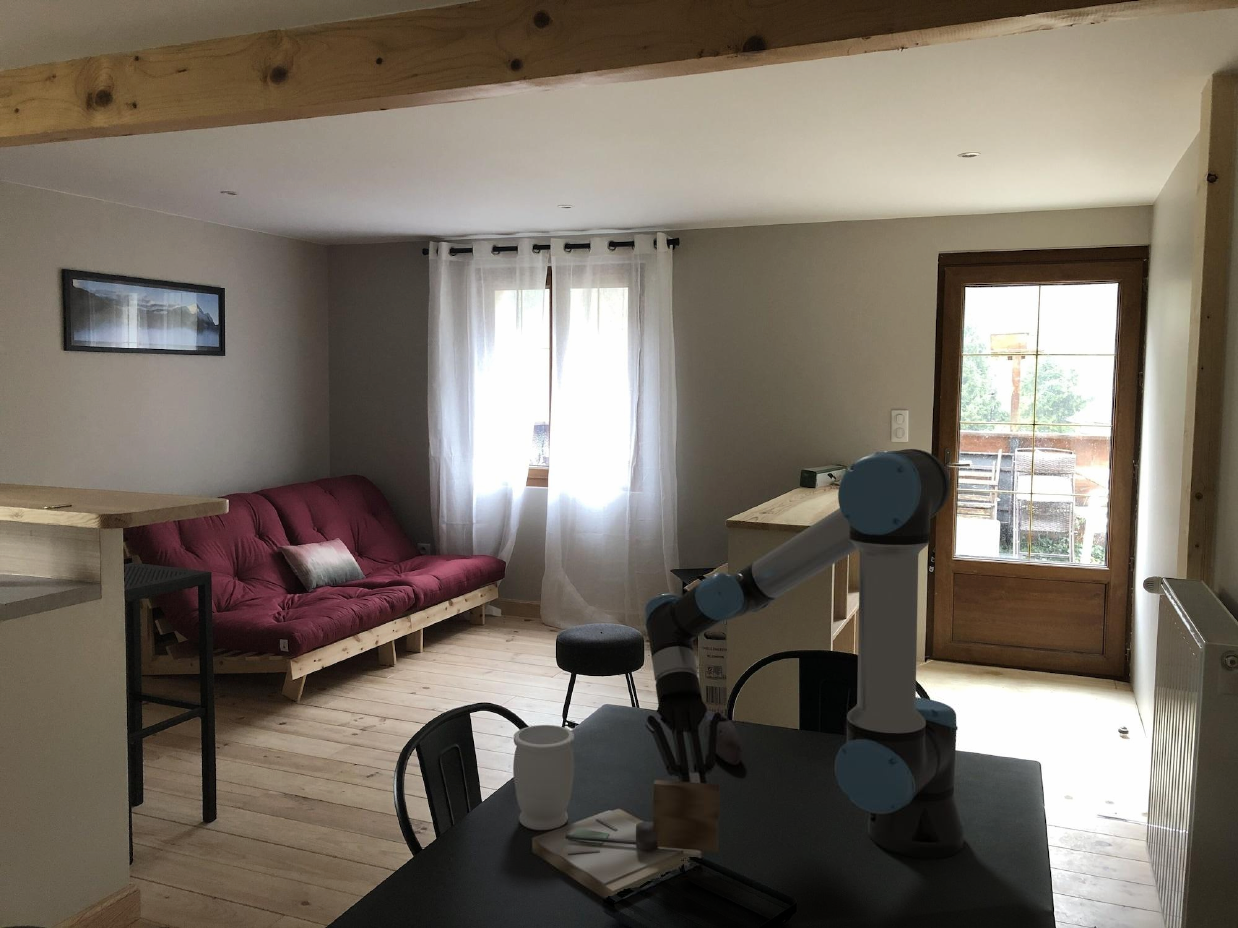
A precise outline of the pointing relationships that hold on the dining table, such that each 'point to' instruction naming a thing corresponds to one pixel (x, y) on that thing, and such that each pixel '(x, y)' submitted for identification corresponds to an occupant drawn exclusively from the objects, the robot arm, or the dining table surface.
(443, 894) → the dining table surface
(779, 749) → the dining table surface
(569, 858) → the light wood flat board
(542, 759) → the jar
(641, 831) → the peg
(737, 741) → the perforated stone tool
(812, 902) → the dining table surface
